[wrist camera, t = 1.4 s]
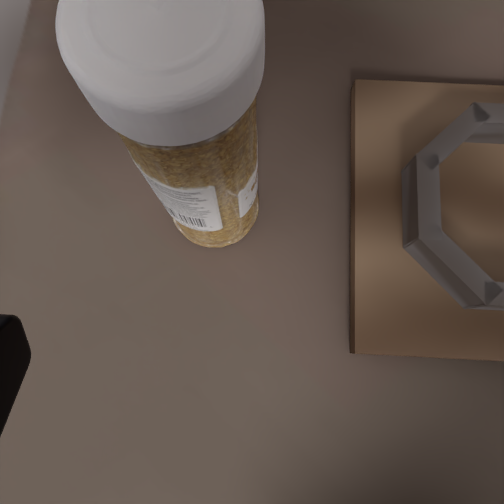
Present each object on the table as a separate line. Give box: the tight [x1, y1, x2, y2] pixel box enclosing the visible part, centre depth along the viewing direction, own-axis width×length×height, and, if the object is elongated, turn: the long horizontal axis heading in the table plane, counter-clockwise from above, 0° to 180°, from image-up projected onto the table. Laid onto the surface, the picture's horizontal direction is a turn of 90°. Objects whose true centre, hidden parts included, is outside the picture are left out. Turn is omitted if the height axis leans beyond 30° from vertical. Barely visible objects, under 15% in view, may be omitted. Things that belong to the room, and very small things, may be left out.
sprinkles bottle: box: [55, 0, 265, 247], centre depth 15 cm, size 5×5×14 cm
